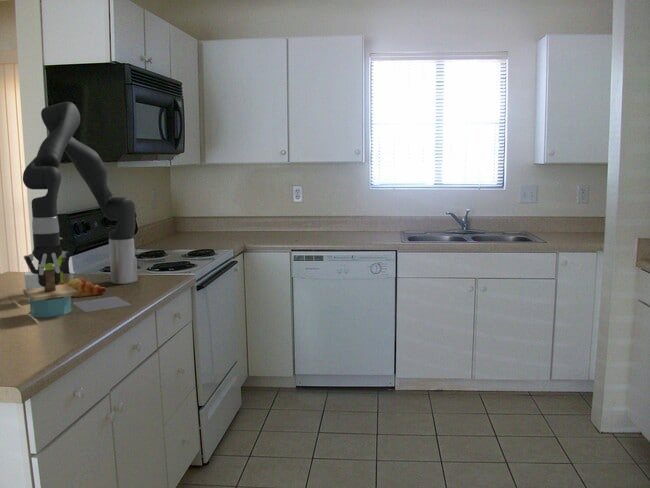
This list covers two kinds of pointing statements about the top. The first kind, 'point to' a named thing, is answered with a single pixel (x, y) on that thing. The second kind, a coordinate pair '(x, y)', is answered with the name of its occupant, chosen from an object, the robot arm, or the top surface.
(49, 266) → the soap dispenser
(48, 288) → the lid
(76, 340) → the top surface
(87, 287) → the croissant
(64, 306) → the bowl
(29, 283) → the white cup
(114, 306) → the mat
